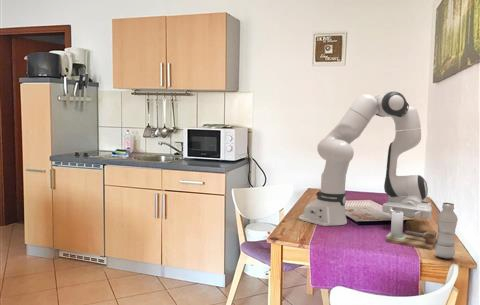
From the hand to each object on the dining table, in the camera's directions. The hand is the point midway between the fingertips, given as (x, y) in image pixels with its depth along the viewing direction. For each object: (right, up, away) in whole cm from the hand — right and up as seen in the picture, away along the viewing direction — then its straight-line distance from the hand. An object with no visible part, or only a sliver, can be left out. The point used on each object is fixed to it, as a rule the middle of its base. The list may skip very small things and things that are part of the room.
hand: (402, 213), depth 184 cm
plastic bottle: (+6, -13, -26) cm, 29 cm away
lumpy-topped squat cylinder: (+18, -4, +54) cm, 57 cm away
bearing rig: (+1, -10, -8) cm, 13 cm away
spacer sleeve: (-4, -9, -5) cm, 11 cm away
